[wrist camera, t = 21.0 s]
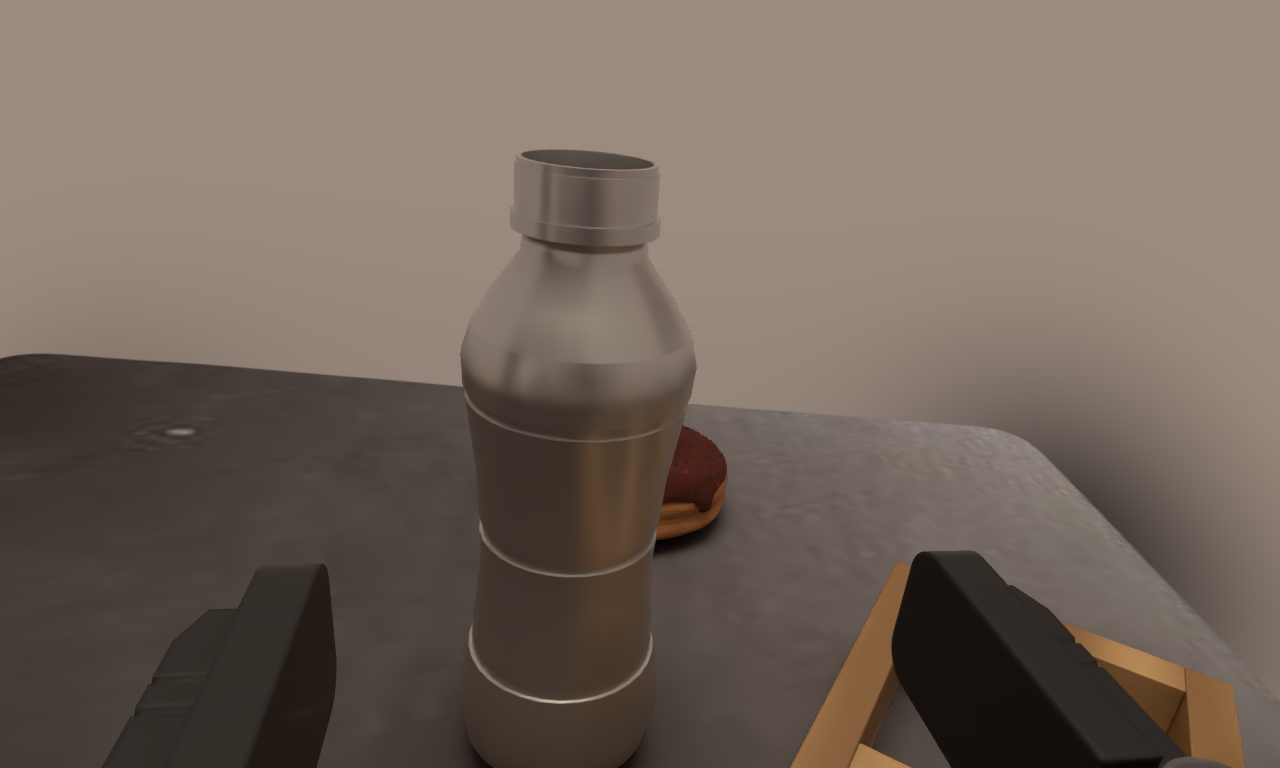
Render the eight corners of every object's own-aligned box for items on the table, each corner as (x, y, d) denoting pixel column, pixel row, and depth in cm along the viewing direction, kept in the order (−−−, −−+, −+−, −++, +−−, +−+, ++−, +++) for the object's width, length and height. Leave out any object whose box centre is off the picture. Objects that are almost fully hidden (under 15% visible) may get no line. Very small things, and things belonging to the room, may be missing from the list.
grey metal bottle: (493, 658, 31) (497, 134, 23) (661, 687, 30) (724, 157, 22) (429, 799, 25) (406, 160, 17) (637, 839, 24) (712, 192, 16)
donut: (592, 443, 48) (595, 384, 47) (744, 483, 45) (753, 422, 44) (507, 522, 39) (508, 454, 38) (688, 580, 36) (697, 508, 35)
